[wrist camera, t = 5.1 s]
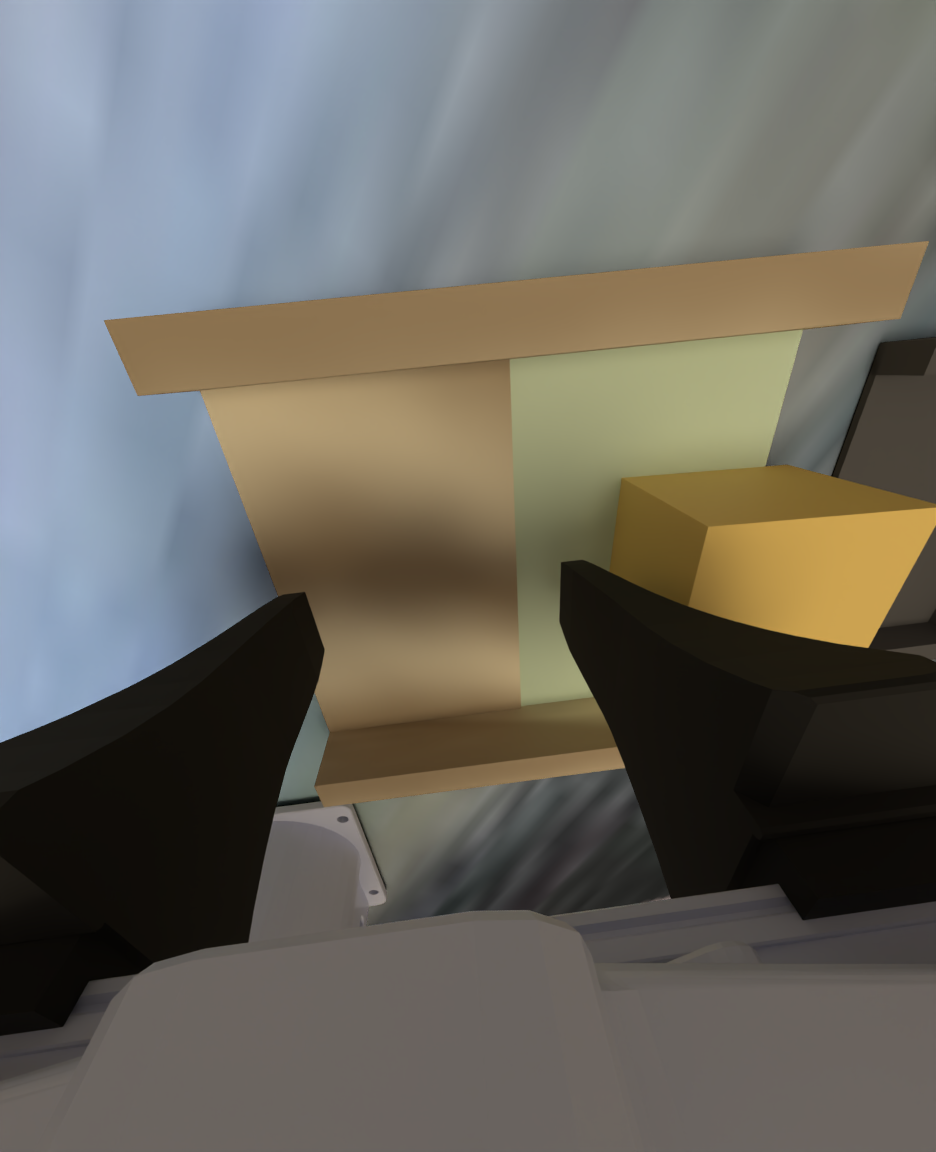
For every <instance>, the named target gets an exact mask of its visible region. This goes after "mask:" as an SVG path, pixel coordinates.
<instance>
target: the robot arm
mask: <svg viewBox="0 0 936 1152" xmlns="http://www.w3.org/2000/svg"><path fill="white" fill-rule="evenodd" d="M559 623H560V625H561V628H562V631H563V634H564V637H565V640H566V643H567V645H568V648H569V651H570V653H571V655H572V657H573V659H574V660H575V662H576V664H577V666H578V668H579V670H580V672H581V674H582V676H583V678H584V680H585V681H586V683H587V685H588V687H589V689H590V691H591V693H592V695H593V697H594V698H595V700H596V702H597V704H598V706H599V708H600V710H601V712H602V714H603V716H604V718H605V720H606V722H607V724H608V726H609V728H610V730H611V733H612V735H613V738H614V740H615V743H616V745H617V748H618V750H619V753H620V755H621V758H622V760H623V763H624V766H625V768H626V771H627V774H628V776H629V779H630V782H631V784H632V787H633V790H634V792H635V795H636V798H637V800H638V803H639V806H640V808H641V811H642V814H643V817H644V820H645V823H646V826H647V828H648V831H649V834H650V837H651V840H652V843H653V845H654V848H655V851H656V854H657V857H658V860H659V863H660V866H661V869H662V873H663V876H664V879H665V882H666V885H667V888H668V891H669V894H670V897H671V899H667V900H660V901H653V902H646V903H639V904H632V905H625V906H618V907H611V908H604V909H596V910H589V911H582V912H575V913H568V914H561V915H554V916H545V915H542V914H539V913H536V912H532V911H529V910H508V911H470V912H463V913H456V914H449V915H442V916H435V917H427V918H420V919H413V920H406V921H399V922H392V923H385V924H377V925H370V926H366V925H367V917H368V908H369V906H374V905H380V904H383V903H384V902H385V901H386V898H387V892H386V889H385V886H384V884H383V881H382V879H381V876H380V874H379V871H378V868H377V866H376V863H375V861H374V858H373V856H372V853H371V850H370V848H369V845H368V843H367V840H366V838H365V835H364V833H363V830H362V827H361V825H360V822H359V820H358V817H357V815H356V812H355V809H354V807H353V804H345V805H337V806H330V807H324V806H323V804H322V802H321V801H320V802H312V803H304V804H297V805H289V806H281V807H276V805H277V802H278V798H279V794H280V790H281V786H282V782H283V779H284V775H285V771H286V768H287V765H288V762H289V759H290V756H291V753H292V750H293V748H294V745H295V742H296V740H297V737H298V735H299V732H300V729H301V727H302V724H303V721H304V719H305V716H306V713H307V711H308V708H309V706H310V703H311V700H312V697H313V695H314V692H315V689H316V686H317V684H318V681H319V676H320V672H321V667H322V662H323V657H324V652H325V649H324V646H323V643H322V640H321V637H320V634H319V631H318V628H317V625H316V622H315V619H314V616H313V614H312V611H311V608H310V605H309V602H308V599H307V596H306V593H305V592H300V593H291V594H283V595H281V596H279V597H277V598H275V599H273V600H272V601H270V602H268V603H267V604H265V605H264V606H262V607H261V608H259V609H257V610H256V611H254V612H253V613H251V614H250V615H248V616H247V617H245V618H244V619H242V620H241V621H239V622H238V623H236V624H235V625H233V626H232V627H230V628H229V629H227V630H226V631H224V632H223V633H221V634H220V635H218V636H217V637H215V638H214V639H212V640H210V641H209V642H207V643H205V644H204V645H202V646H201V647H199V648H197V649H196V650H194V651H193V652H191V653H189V654H188V655H186V656H185V657H183V658H181V659H180V660H178V661H176V662H174V663H173V664H171V665H169V666H167V667H166V668H164V669H162V670H160V671H158V672H157V673H155V674H153V675H151V676H149V677H147V678H145V679H143V680H141V681H140V682H138V683H136V684H134V685H132V686H130V687H128V688H126V689H124V690H122V691H120V692H117V693H115V694H113V695H111V696H109V697H107V698H104V699H102V700H100V701H98V702H96V703H94V704H92V705H89V706H87V707H85V708H83V709H81V710H79V711H77V712H74V713H72V714H70V715H68V716H65V717H63V718H61V719H58V720H56V721H53V722H51V723H49V724H46V725H44V726H41V727H39V728H37V729H34V730H32V731H29V732H27V733H24V734H22V735H19V736H16V737H14V738H11V739H9V740H6V741H4V742H1V743H0V1152H936V662H934V661H932V660H930V659H928V658H926V657H924V656H921V655H915V654H908V653H901V652H894V651H887V650H879V649H872V648H865V647H858V646H850V645H843V644H837V643H831V642H826V641H821V640H815V639H810V638H805V637H799V636H794V635H790V634H785V633H780V632H776V631H771V630H767V629H763V628H759V627H755V626H751V625H748V624H744V623H740V622H736V621H732V620H729V619H725V618H722V617H719V616H715V615H712V614H709V613H706V612H703V611H700V610H697V609H694V608H691V607H688V606H686V605H683V604H680V603H678V602H675V601H673V600H670V599H668V598H665V597H663V596H660V595H658V594H656V593H653V592H651V591H649V590H647V589H644V588H642V587H640V586H638V585H636V584H634V583H631V582H629V581H627V580H625V579H623V578H621V577H619V576H617V575H615V574H613V573H611V572H609V571H607V570H605V569H603V568H601V567H599V566H597V565H594V564H592V563H590V562H588V561H585V560H575V561H566V562H561V577H560V613H559Z"/></svg>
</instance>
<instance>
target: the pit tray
mask: <svg viewBox="0 0 936 1152" xmlns="http://www.w3.org/2000/svg"><path fill="white" fill-rule="evenodd" d="M832 477H835V478H839V479H843V480H847V481H851V482H854V483H858V484H862V485H866V486H870V487H873V488H877V489H881V490H885V491H888V492H892V493H896V494H900V495H904V496H907V497H911V498H915V499H919V500H923V501H926V502H930V503H934V504H936V337H931V338H921V339H912V340H902V341H892V342H883V343H880V346H879V349H878V352H877V354H876V357H875V360H874V363H873V366H872V368H871V371H870V374H869V377H868V379H867V382H866V385H865V388H864V390H863V393H862V396H861V399H860V402H859V404H858V407H857V410H856V413H855V415H854V418H853V421H852V424H851V426H850V429H849V432H848V435H847V438H846V440H845V443H844V446H843V449H842V451H841V454H840V457H839V460H838V462H837V465H836V468H835V471H834V474H833V476H832ZM868 648H872V649H879V650H887V651H894V652H901V653H908V654H915V655H921V656H924V657H926V658H928V659H930V660H933V659H936V526H935V528H934V529H933V531H932V533H931V535H930V537H929V539H928V540H927V542H926V544H925V546H924V548H923V549H922V551H921V553H920V555H919V557H918V559H917V560H916V562H915V564H914V566H913V568H912V569H911V571H910V573H909V575H908V577H907V578H906V580H905V582H904V584H903V586H902V588H901V589H900V591H899V593H898V595H897V597H896V598H895V600H894V602H893V604H892V606H891V608H890V609H889V611H888V613H887V615H886V617H885V618H884V620H883V622H882V624H881V626H880V628H879V629H878V631H877V633H876V635H875V637H874V638H873V640H872V642H871V644H870V646H869V647H868Z"/></svg>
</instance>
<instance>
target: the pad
mask: <svg viewBox="0 0 936 1152" xmlns="http://www.w3.org/2000/svg"><path fill="white" fill-rule="evenodd" d="M802 331H803V330H794V331H784V332H774V333H765V334H755V335H745V336H735V337H725V338H715V339H705V340H696V341H686V342H676V343H666V344H656V345H646V346H636V347H627V348H617V349H607V350H597V351H587V352H577V353H567V354H558V355H548V356H538V357H528V358H518V359H510V386H511V417H512V447H513V477H514V507H515V538H516V568H517V598H518V628H519V659H520V689H521V706H527V705H535V704H543V703H551V702H559V701H567V700H575V699H583V698H591V697H593V695H592V693H591V691H590V689H589V687H588V685H587V683H586V681H585V680H584V678H583V676H582V674H581V672H580V670H579V668H578V666H577V664H576V662H575V660H574V659H573V657H572V655H571V653H570V651H569V648H568V645H567V643H566V640H565V637H564V634H563V631H562V628H561V625H560V623H559V613H560V577H561V562H566V561H575V560H585V561H588V562H590V563H592V564H594V565H597V566H599V567H601V568H603V569H605V570H607V571H609V570H610V562H611V555H612V547H613V540H614V532H615V524H616V517H617V509H618V502H619V494H620V487H621V479H622V478H625V477H638V476H651V475H664V474H676V473H689V472H702V471H714V470H727V469H740V468H753V467H765V466H766V462H767V459H768V455H769V451H770V448H771V444H772V440H773V437H774V433H775V429H776V426H777V422H778V418H779V415H780V411H781V408H782V404H783V400H784V397H785V393H786V389H787V386H788V382H789V378H790V375H791V371H792V368H793V364H794V360H795V357H796V353H797V349H798V346H799V342H800V338H801V335H802Z"/></svg>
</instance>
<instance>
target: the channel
mask: <svg viewBox="0 0 936 1152" xmlns="http://www.w3.org/2000/svg"><path fill="white" fill-rule="evenodd" d="M928 243H929V241H925V242H915V243H904V244H894V245H884V246H873V247H863V248H852V249H842V250H832V251H821V252H811V253H800V254H790V255H779V256H769V257H759V258H748V259H738V260H727V261H717V262H707V263H696V264H686V265H675V266H665V267H654V268H644V269H634V270H623V271H613V272H602V273H592V274H582V275H571V276H561V277H550V278H540V279H529V280H519V281H509V282H498V283H488V284H477V285H467V286H456V287H446V288H436V289H425V290H415V291H404V292H394V293H384V294H373V295H363V296H352V297H342V298H331V299H321V300H311V301H300V302H290V303H279V304H269V305H259V306H248V307H238V308H227V309H217V310H206V311H196V312H186V313H175V314H165V315H154V316H144V317H134V318H123V319H113V320H104V322H105V324H106V327H107V329H108V331H109V333H110V335H111V338H112V340H113V342H114V344H115V347H116V349H117V351H118V353H119V355H120V358H121V360H122V362H123V364H124V366H125V369H126V371H127V373H128V375H129V377H130V380H131V382H132V384H133V386H134V389H135V391H136V393H137V395H138V396H142V395H154V394H166V393H178V392H191V391H200V392H201V395H202V397H203V400H204V403H205V405H206V408H207V410H208V413H209V416H210V418H211V421H212V424H213V426H214V429H215V431H216V434H217V437H218V439H219V442H220V445H221V447H222V450H223V453H224V455H225V458H226V460H227V463H228V466H229V468H230V471H231V474H232V476H233V479H234V481H235V484H236V487H237V489H238V492H239V495H240V497H241V500H242V502H243V505H244V508H245V510H246V513H247V516H248V518H249V521H250V524H251V526H252V529H253V531H254V534H255V537H256V539H257V542H258V545H259V547H260V550H261V552H262V555H263V558H264V560H265V563H266V566H267V568H268V571H269V574H270V576H271V579H272V581H273V584H274V587H275V589H276V592H277V595H278V597H279V596H281V595H283V594H291V593H300V592H305V593H306V596H307V599H308V602H309V605H310V608H311V611H312V614H313V616H314V619H315V622H316V625H317V628H318V631H319V634H320V637H321V640H322V643H323V646H324V649H325V652H324V657H323V662H322V667H321V672H320V676H319V681H318V684H317V686H316V689H315V695H316V697H317V700H318V702H319V705H320V708H321V710H322V713H323V716H324V718H325V721H326V723H327V726H328V729H329V731H330V734H329V737H328V741H327V744H326V748H325V751H324V755H323V758H322V762H321V765H320V768H319V772H318V775H317V779H316V782H315V786H314V787H315V789H316V791H317V793H318V795H319V798H320V800H321V802H322V804H323V806H324V807H330V806H337V805H345V804H353V803H360V802H368V801H376V800H383V799H391V798H398V797H406V796H414V795H421V794H429V793H437V792H444V791H452V790H459V789H467V788H475V787H482V786H490V785H498V784H505V783H513V782H520V781H528V780H536V779H543V778H551V777H558V776H566V775H574V774H581V773H589V772H597V771H604V770H612V769H619V768H625V766H624V763H623V760H622V758H621V755H620V753H619V750H618V748H617V745H616V743H615V740H614V738H613V735H612V733H611V730H610V728H609V726H608V724H607V722H606V720H605V718H604V716H603V714H602V712H601V710H600V708H599V706H598V704H597V702H596V700H595V698H594V697H591V698H583V699H575V700H567V701H559V702H551V703H543V704H535V705H527V706H521V689H520V659H519V628H518V598H517V568H516V538H515V507H514V477H513V447H512V417H511V386H510V359H518V358H528V357H538V356H548V355H558V354H567V353H577V352H587V351H597V350H607V349H617V348H627V347H636V346H646V345H656V344H666V343H676V342H686V341H696V340H705V339H715V338H725V337H735V336H745V335H755V334H765V333H774V332H784V331H794V330H804V329H813V328H821V327H830V326H839V325H848V324H857V323H865V322H874V321H883V320H892V319H900V318H901V315H902V312H903V310H904V307H905V304H906V302H907V299H908V296H909V294H910V291H911V288H912V285H913V283H914V280H915V277H916V275H917V272H918V269H919V267H920V264H921V261H922V259H923V256H924V253H925V251H926V248H927V245H928Z"/></svg>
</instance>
